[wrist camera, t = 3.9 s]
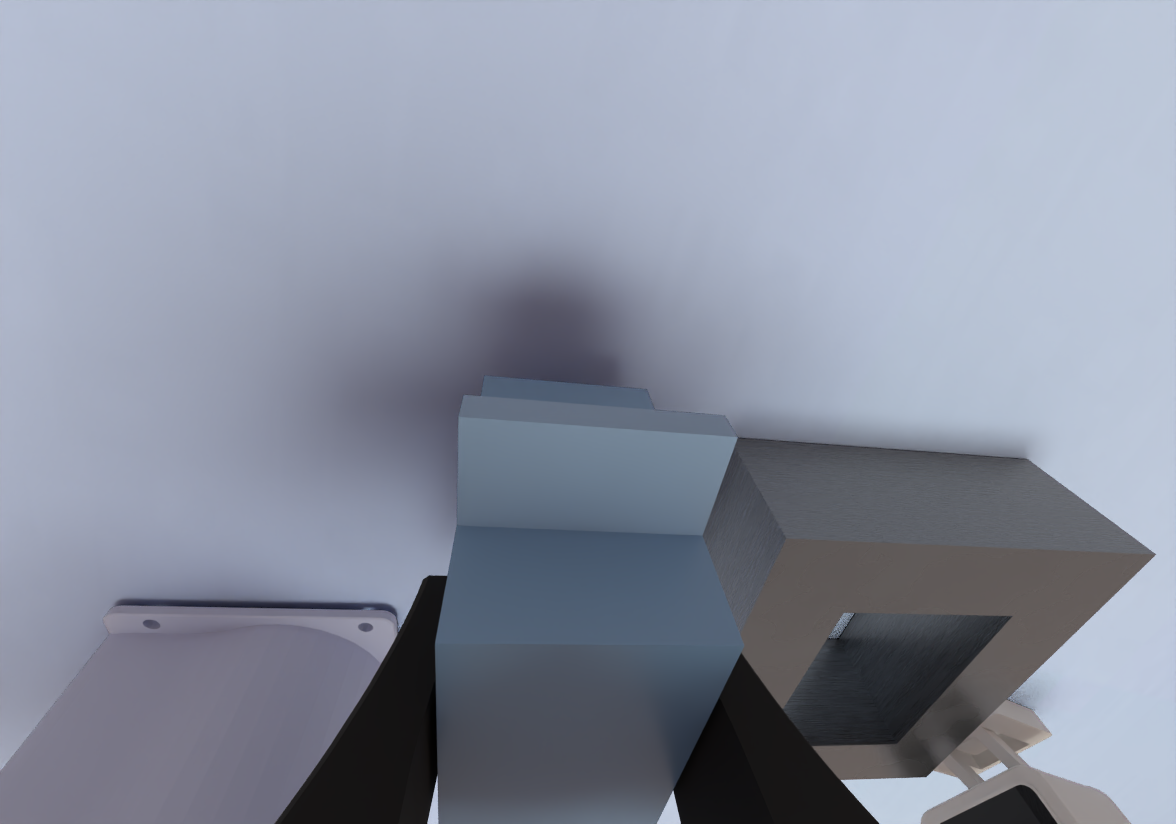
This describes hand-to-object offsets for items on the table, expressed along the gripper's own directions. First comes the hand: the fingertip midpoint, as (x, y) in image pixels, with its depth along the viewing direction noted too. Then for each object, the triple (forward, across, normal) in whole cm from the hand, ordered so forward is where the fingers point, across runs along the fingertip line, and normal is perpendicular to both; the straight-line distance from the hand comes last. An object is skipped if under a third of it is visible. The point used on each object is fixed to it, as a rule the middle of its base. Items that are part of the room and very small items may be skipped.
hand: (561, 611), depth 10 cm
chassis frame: (+6, -11, +6) cm, 14 cm away
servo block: (+4, 0, 0) cm, 4 cm away
